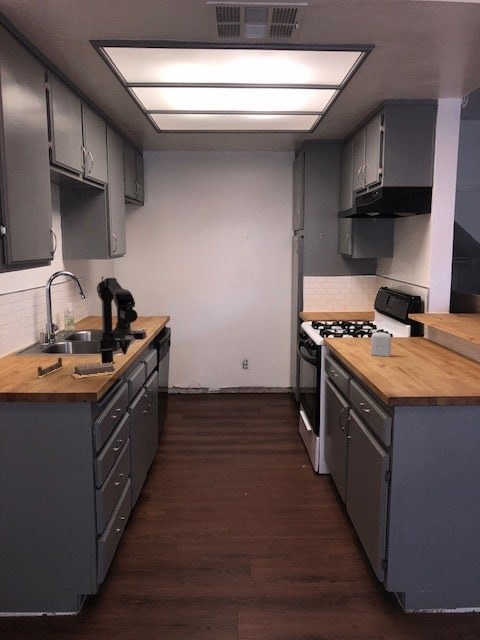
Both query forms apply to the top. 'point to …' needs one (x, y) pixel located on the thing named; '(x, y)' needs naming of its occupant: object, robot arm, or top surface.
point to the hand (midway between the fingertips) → (124, 354)
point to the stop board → (50, 368)
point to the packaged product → (94, 369)
